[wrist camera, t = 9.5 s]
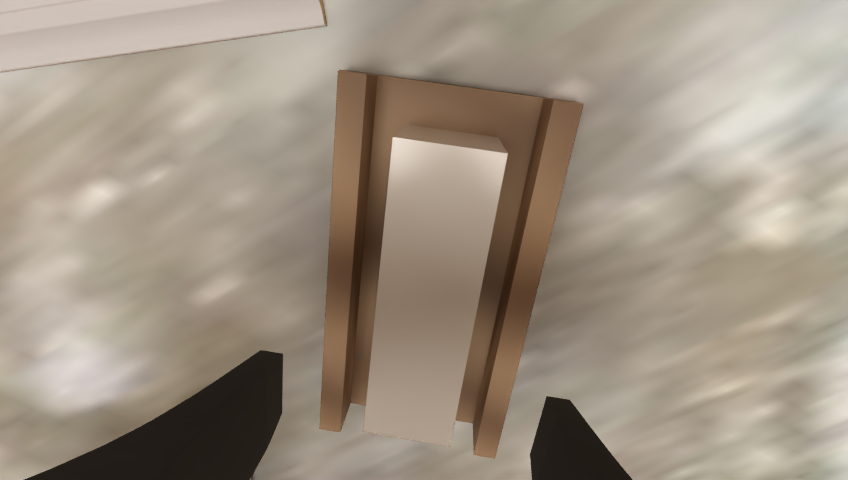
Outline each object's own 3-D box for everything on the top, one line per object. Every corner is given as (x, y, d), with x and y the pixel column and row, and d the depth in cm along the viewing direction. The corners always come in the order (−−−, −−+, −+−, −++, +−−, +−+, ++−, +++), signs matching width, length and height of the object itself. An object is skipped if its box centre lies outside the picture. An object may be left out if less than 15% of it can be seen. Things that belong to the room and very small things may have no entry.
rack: (500, 413, 23) (505, 460, 20) (327, 385, 23) (309, 427, 20) (576, 101, 17) (598, 106, 14) (346, 70, 18) (323, 68, 15)
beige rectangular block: (452, 382, 21) (449, 446, 18) (380, 370, 21) (363, 432, 18) (498, 137, 17) (507, 153, 13) (408, 124, 17) (392, 137, 13)
